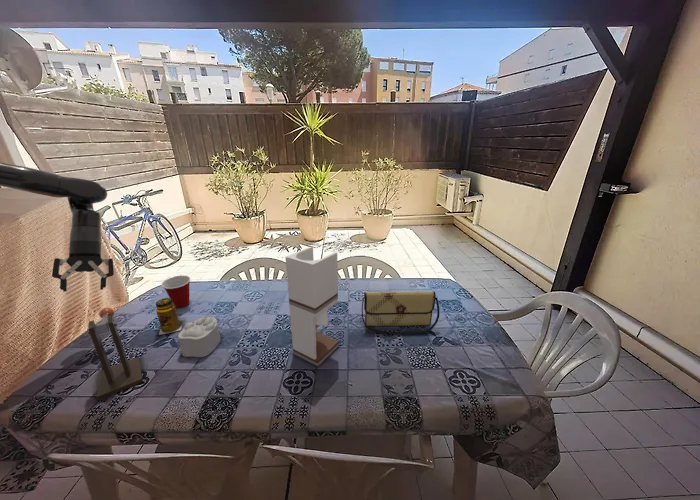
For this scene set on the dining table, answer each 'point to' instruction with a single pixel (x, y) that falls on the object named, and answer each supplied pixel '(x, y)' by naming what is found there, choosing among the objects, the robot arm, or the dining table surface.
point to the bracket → (118, 374)
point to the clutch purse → (399, 309)
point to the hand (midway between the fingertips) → (83, 290)
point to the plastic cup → (178, 290)
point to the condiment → (168, 316)
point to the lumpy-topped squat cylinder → (199, 337)
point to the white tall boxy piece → (311, 303)
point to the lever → (104, 320)
